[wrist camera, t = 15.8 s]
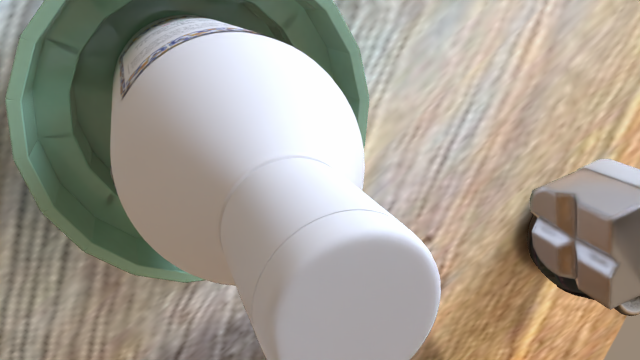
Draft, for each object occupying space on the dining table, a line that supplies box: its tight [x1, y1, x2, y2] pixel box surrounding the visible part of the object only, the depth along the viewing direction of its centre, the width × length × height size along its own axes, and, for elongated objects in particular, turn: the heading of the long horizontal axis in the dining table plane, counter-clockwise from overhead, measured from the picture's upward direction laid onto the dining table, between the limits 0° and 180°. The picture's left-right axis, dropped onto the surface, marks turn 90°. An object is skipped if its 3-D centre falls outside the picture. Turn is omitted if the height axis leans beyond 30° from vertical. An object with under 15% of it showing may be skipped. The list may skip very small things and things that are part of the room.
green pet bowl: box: [5, 0, 369, 283], centre depth 23 cm, size 14×14×6 cm
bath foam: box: [110, 15, 441, 360], centre depth 16 cm, size 7×7×20 cm
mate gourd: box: [527, 215, 640, 316], centre depth 34 cm, size 7×8×10 cm
